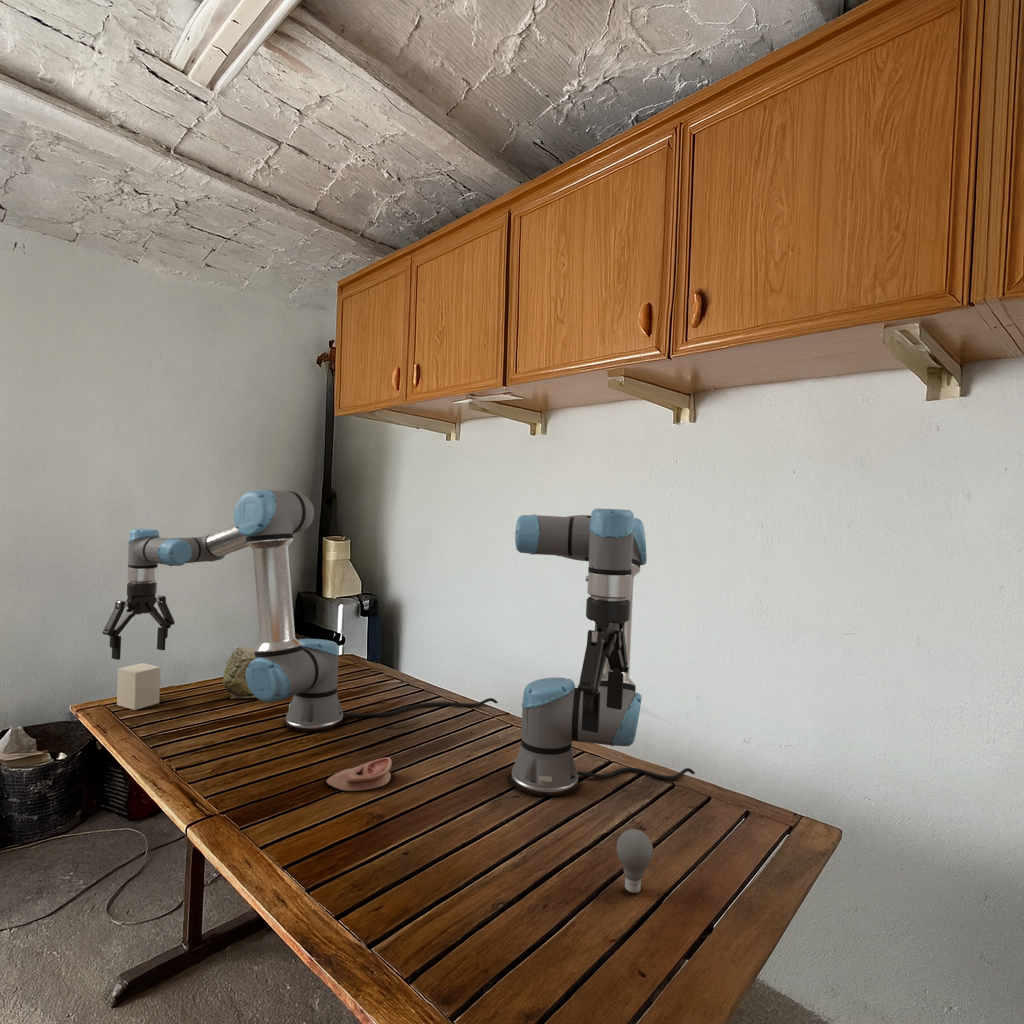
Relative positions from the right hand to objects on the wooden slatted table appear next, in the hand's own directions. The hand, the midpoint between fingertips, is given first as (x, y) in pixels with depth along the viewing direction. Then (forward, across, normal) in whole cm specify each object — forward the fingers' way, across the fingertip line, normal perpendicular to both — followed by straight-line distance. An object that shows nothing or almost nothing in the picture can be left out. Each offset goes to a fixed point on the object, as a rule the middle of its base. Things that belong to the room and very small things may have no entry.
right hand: (602, 719), depth 110 cm
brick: (+27, -13, -144) cm, 147 cm away
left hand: (+12, -13, -145) cm, 146 cm away
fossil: (+27, -37, -124) cm, 132 cm away
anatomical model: (+27, -6, -58) cm, 64 cm away
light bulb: (+27, +2, +7) cm, 28 cm away
